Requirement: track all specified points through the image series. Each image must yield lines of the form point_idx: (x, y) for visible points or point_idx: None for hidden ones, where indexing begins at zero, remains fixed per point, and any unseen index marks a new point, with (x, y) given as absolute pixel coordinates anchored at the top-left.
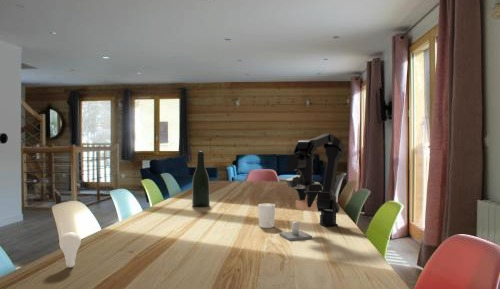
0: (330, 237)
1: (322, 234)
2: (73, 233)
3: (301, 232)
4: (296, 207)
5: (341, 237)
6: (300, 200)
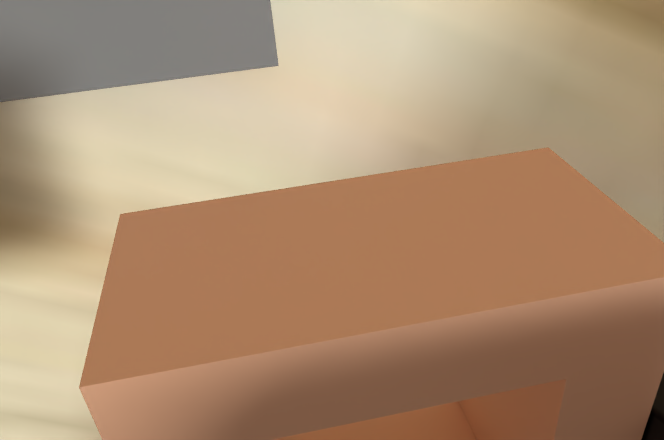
0: (8, 312)
1: None
2: None
3: (171, 34)
4: (496, 161)
5: (7, 400)
6: (561, 400)
